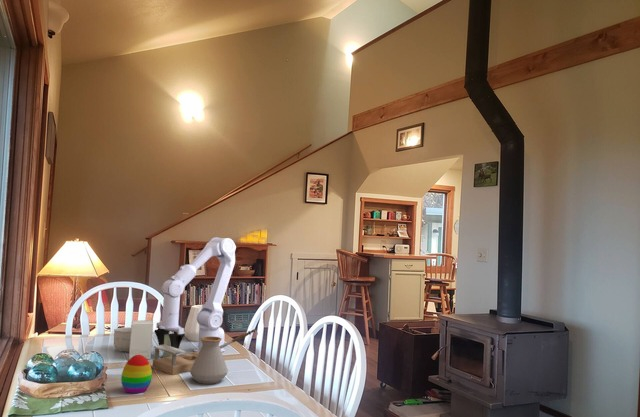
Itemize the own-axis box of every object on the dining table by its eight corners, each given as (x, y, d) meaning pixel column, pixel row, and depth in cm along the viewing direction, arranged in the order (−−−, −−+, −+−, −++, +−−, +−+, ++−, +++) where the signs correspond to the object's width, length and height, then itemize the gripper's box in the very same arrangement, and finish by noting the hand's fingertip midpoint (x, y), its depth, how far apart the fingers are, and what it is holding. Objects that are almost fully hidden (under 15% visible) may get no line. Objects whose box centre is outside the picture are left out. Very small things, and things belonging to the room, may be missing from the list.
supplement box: (150, 359, 172) (153, 323, 173) (128, 360, 170) (130, 323, 170) (150, 354, 179) (153, 319, 180) (129, 355, 177) (131, 320, 177)
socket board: (197, 358, 177) (198, 339, 177) (218, 365, 169) (219, 345, 169) (152, 367, 163) (153, 346, 163) (172, 375, 155) (174, 352, 155)
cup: (205, 334, 218) (207, 303, 219) (221, 340, 208) (223, 307, 209) (177, 337, 209) (180, 305, 210) (193, 344, 199) (195, 309, 200)
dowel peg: (169, 355, 179) (170, 333, 179) (174, 357, 177) (176, 335, 177) (161, 357, 176) (162, 334, 177) (166, 359, 174) (167, 336, 174)
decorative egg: (115, 394, 135) (118, 357, 135) (127, 385, 143) (129, 350, 144) (145, 395, 135) (147, 359, 135) (154, 386, 143) (157, 352, 144)
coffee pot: (195, 387, 144) (199, 336, 145) (185, 377, 154) (188, 329, 155) (262, 380, 155) (264, 332, 156) (248, 370, 165) (250, 325, 166)
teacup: (106, 350, 181) (107, 329, 181) (127, 345, 191) (129, 324, 191) (135, 356, 176) (137, 333, 176) (156, 350, 186) (157, 329, 186)
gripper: (150, 311, 179) (147, 348, 178) (172, 317, 170) (169, 356, 169) (167, 309, 184) (164, 346, 183) (189, 315, 175) (187, 353, 174)
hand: (168, 351), depth 176 cm, fingers open, 7 cm apart
